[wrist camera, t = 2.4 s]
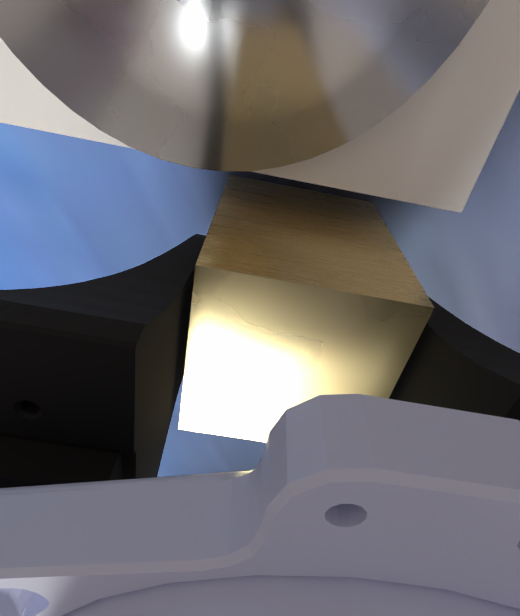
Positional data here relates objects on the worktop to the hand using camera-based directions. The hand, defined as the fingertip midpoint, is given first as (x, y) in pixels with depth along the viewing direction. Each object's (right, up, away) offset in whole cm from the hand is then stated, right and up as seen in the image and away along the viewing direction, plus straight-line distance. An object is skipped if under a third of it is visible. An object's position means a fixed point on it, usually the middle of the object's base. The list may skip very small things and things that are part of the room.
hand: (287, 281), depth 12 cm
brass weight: (0, +1, +2) cm, 2 cm away
